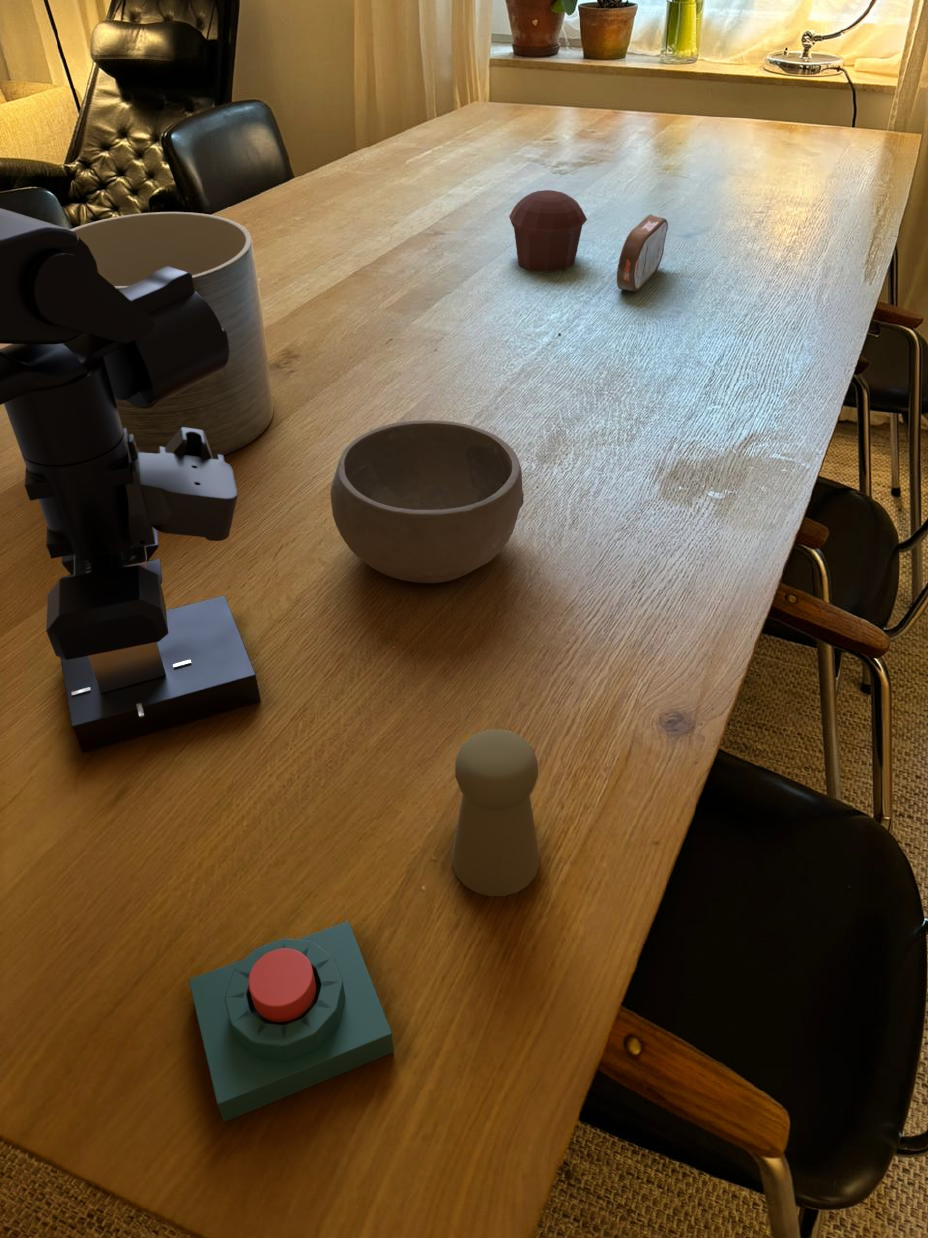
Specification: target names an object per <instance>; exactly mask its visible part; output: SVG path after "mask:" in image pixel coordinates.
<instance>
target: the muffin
mask: <svg viewBox="0 0 928 1238" xmlns="http://www.w3.org/2000/svg"><path fill="white" fill-rule="evenodd" d="M508 217H509V220H510V223H511V225H512V227H513V231H514V239H515V247H516V255H517V263H518V266H519V267H522V268H525V269H526V270H528V271H531V272H542V273H551V272H559V271H566V270H567V269H568V268H570V267H571V266H574V265H575V263H576V257H577V254H578V249H579V243H580V239H581V233H582V229H583V225H584V224H585V223H586V222H587V221H588V218H587V217H586V214H585V213H584V211H583V209H582V207H581V205H580V204H579V203H578V201H577V200H576V199H574V198H573V197H572V196H570V195H568V194H566V193H565V192H562V191H557V190H552V189H551V190H550V189H545V190H537V191H534V192H533V191H532V192H531V193H529V194H526V195H525V196H524V197H522V198H521V199H520V200H518V202H517V203H516V204H515V206H514V207H513V208H512V210H511V213H509V215H508Z"/></svg>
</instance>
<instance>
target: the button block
mask: <svg viewBox="0 0 928 1238" xmlns="http://www.w3.org/2000/svg"><path fill="white" fill-rule="evenodd" d="M283 948H287V949H294V950H297V951H299V952H301V953H302V954H304V955H305V956H306V957H307V958H308V959H309V961H310V963H311V965H312V969H313V973H314V978H315V983H316V994H315V998H314V1000H313V1002H312V1004H311V1006H310V1007H309V1008H308V1010H307V1011H306V1012H305V1013H304V1014H302V1015H301V1016H299V1017H298V1018H296V1019H294V1020H291V1021H287V1022H273V1021H270V1020H267V1019H265V1018H264V1017H262V1016H261V1015H260V1014H259V1013H258V1012H257V1010H256V1009H255V1006H254V1004H253V1000H252V997H251V993H250V990H249V985H248V980H249V975H250V972H251V970H252V968H253V966H254V965H255V963H256V962H257V961H258V960H259V959H260V958H261V957H262V956H264V955H265V954H267V953H268V952H271V951H273V950H276V949H283ZM188 984H189V987H190V991H191V996H192V1001H193V1006H194V1009H195V1014H196V1018H197V1023H198V1027H199V1031H200V1035H201V1040H202V1044H203V1049H204V1053H205V1057H206V1061H207V1065H208V1070H209V1073H210V1074H209V1075H210V1079H211V1084H212V1088H213V1092H214V1096H215V1101H216V1105H217V1107H218V1110H219V1113H220V1115H221V1118H222V1120H223V1122H224V1123H225V1122H228V1121H231V1120H234V1119H235V1118H238V1117H241V1116H243V1115H245V1114H248V1113H250V1112H253V1111H255V1110H258V1109H260V1108H262V1107H265V1106H267V1105H269V1104H272V1103H274V1102H277V1101H279V1100H281V1099H284V1098H287V1097H289V1096H292V1095H294V1094H296V1093H299V1092H301V1091H303V1090H306V1089H308V1088H310V1087H311V1088H312V1087H313V1086H315V1085H318V1084H320V1083H323V1082H325V1081H327V1080H330V1079H332V1078H334V1077H337V1076H340V1075H342V1074H344V1073H347V1072H349V1071H352V1070H354V1069H356V1068H359V1067H361V1066H364V1065H366V1064H368V1063H372V1062H374V1061H376V1060H379V1059H382V1058H383V1057H386V1056H388V1055H390V1054H393V1053H395V1048H394V1047H395V1046H394V1038H393V1032H392V1030H391V1027H390V1025H389V1022H388V1020H387V1016H386V1014H385V1012H384V1009H383V1006H382V1004H381V1001H380V999H379V996H378V993H377V991H376V988H375V985H374V982H373V979H372V977H371V975H370V973H369V970H368V967H367V965H366V962H365V960H364V957H363V953H362V952H361V949H360V946H359V943H358V941H357V938H356V936H355V934H354V931H353V928H352V925H351V923H350V921H349V920H346V921H344V922H341V923H339V924H336V925H333V926H330V927H328V928H325V929H322V930H320V931H317V932H314V933H311V934H308V935H306V936H304V937H301V938H298V939H297V938H287V937H286V938H285V937H284V938H280V939H277V940H274V941H272V942H269V943H266V944H264V945H261V946H259V947H256V948H255V949H253V950H252V951H251V952H250V953H249V954H248V955H247V956H246V957H245V958H243V959H240V960H238V961H235V962H232V963H230V964H227V965H223V966H221V967H217V968H215V969H213V970H211V971H208V972H205V973H202V974H200V975H199V974H198V975H197V976H194V977H192V978H189V979H188Z"/></svg>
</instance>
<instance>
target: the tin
mask: <svg viewBox="0 0 928 1238" xmlns="http://www.w3.org/2000/svg"><path fill="white" fill-rule="evenodd" d="M668 229H669V222H668V220H667V219H666V218H665V217H661V216H656V215H653V214H648V215H646V216H645V218H643V219H641V221H640V222H639V223H638V224H637V225H635V226H634V227H633V228H632V229H631V230H630V231H629V232H628V235H627V236H626V239H625V240H624V243H623V245H622V249H621V252H620V255H619V259H618V264H617V270H616V286H617V288H618V289H619V290H625V291H629V292H638V291H639V290H640V289H642V287H643V286H644V285H645V284H647V282H648V281H649V280H650V279H651V278H652V277H653V275H655V273H656V272H657V270H658V269H659V267H660V264H661V262H662V259H663V256H664V251H665V243H666V239H667V234H668V233H667V232H668Z"/></svg>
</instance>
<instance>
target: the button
mask: <svg viewBox="0 0 928 1238" xmlns="http://www.w3.org/2000/svg"><path fill="white" fill-rule="evenodd" d="M248 985H249V990H250V993H251V997H252V1000H253V1004H254V1006H255V1009H256V1010H257V1012H258V1013H259V1014H260V1015H261V1016H262V1017H264V1018H265V1019H267V1020H270V1021H273V1022H287V1021H291V1020H294V1019H296V1018H298V1017H299V1016H301V1015H302V1014H304V1013H305V1012H306V1011H307V1010H308V1008H309V1007H310V1006H311V1004H312V1002H313V1000H314V998H315V994H316V983H315V978H314V973H313V969H312V965H311V963H310V961H309V959H308V958H307V957H306V956H305V955H304V954H302V953H301V952H299V951H297V950H294V949H287V948H283V949H276V950H273V951H271V952H268V953H267V954H265V955H264V956H262V957H261V958H260V959H259V960H258V961H257V962H256V963H255V965H254V966H253V968H252V970H251V972H250V975H249V980H248Z"/></svg>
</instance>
